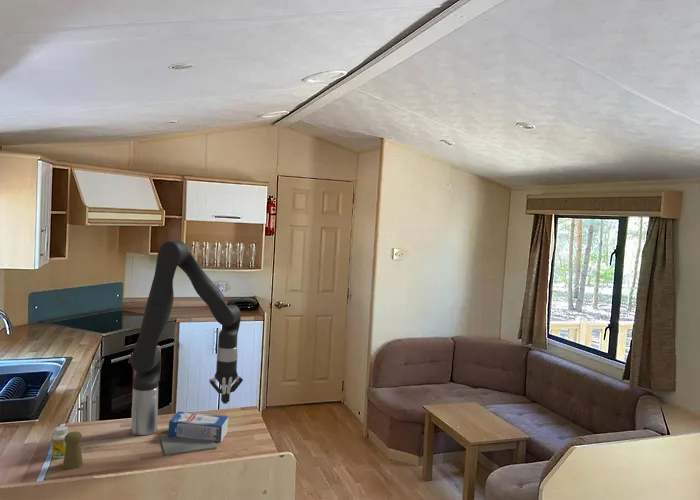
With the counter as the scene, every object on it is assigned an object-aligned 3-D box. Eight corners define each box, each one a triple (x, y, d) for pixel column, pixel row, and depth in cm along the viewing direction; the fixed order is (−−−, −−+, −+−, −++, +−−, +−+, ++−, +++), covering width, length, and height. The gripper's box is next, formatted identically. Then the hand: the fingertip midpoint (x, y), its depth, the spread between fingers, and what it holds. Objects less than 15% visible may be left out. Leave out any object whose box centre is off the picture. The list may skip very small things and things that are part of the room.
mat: (164, 455, 194) (164, 453, 194) (160, 437, 208) (160, 435, 208) (216, 448, 201) (216, 446, 201) (208, 431, 216) (208, 429, 216)
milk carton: (227, 431, 217) (177, 426, 217) (228, 416, 216) (178, 411, 217) (220, 442, 207) (168, 437, 207) (221, 426, 206) (169, 421, 207)
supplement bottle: (73, 453, 191) (73, 426, 191) (60, 460, 186) (60, 432, 186) (61, 450, 193) (62, 423, 193) (48, 456, 188) (48, 429, 188)
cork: (86, 461, 186) (86, 429, 186) (77, 469, 180) (78, 437, 180) (67, 460, 186) (68, 428, 185) (59, 469, 180) (59, 436, 179)
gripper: (241, 354, 214) (239, 398, 215) (207, 356, 209) (205, 401, 210) (246, 359, 207) (244, 404, 209) (211, 362, 202) (209, 408, 203)
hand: (225, 402), depth 209 cm, fingers closed
